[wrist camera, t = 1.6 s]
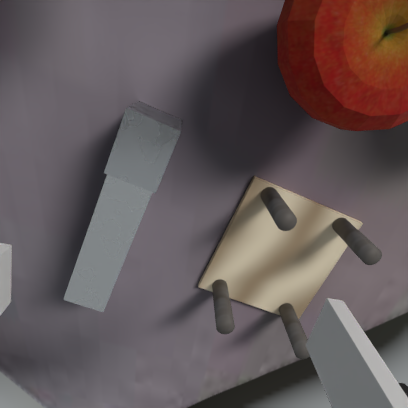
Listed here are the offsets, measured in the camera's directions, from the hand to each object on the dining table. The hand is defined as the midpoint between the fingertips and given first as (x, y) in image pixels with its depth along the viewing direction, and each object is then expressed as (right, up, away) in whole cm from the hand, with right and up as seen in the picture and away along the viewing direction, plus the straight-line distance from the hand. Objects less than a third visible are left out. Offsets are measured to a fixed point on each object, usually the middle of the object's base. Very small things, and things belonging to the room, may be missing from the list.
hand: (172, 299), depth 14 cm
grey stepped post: (-6, +4, +17) cm, 19 cm away
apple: (+11, +17, +13) cm, 24 cm away
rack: (+9, -1, +20) cm, 22 cm away
